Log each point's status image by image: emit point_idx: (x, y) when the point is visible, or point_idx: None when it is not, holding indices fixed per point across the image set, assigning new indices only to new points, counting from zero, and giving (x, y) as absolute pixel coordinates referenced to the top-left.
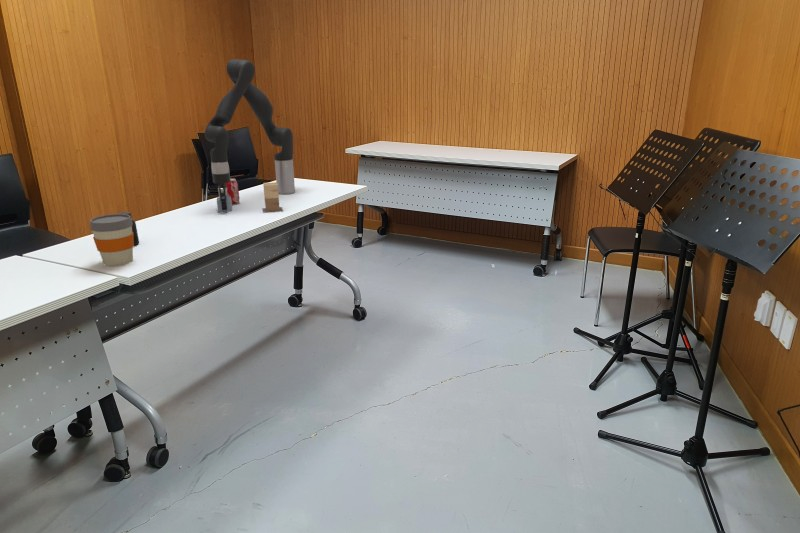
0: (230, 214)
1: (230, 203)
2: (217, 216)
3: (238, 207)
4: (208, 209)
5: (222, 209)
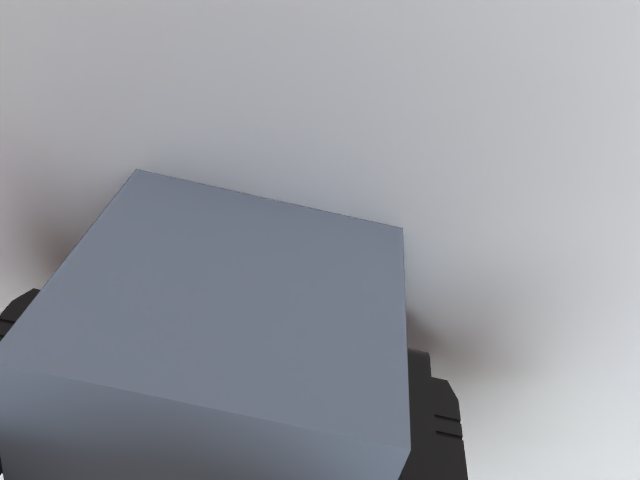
0: (592, 293)
1: (403, 363)
2: (576, 458)
3: (18, 10)
4: None
5: None
